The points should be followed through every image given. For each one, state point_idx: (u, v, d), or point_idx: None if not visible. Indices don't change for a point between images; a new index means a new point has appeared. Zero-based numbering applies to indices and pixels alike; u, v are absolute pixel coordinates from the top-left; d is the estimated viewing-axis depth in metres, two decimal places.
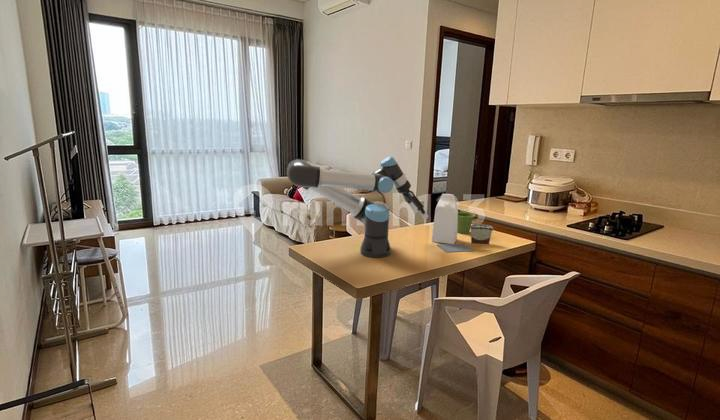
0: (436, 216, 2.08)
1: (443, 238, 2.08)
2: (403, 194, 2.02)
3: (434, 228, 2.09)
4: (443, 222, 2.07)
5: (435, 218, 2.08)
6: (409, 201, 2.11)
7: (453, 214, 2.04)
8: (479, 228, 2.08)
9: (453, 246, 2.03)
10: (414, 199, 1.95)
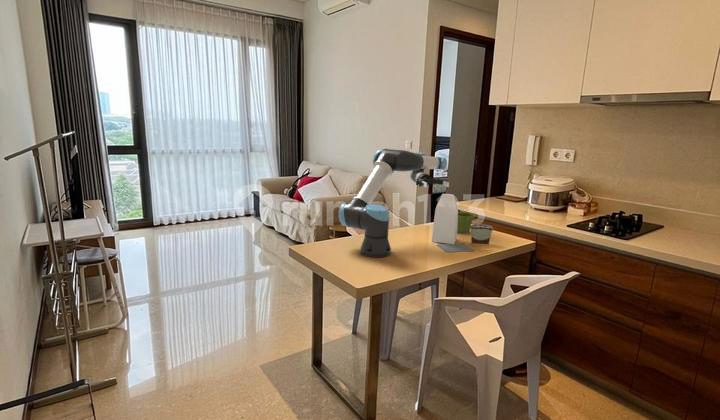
0: (436, 216, 2.08)
1: (443, 238, 2.08)
2: (425, 177, 2.34)
3: (434, 228, 2.09)
4: (443, 222, 2.07)
5: (435, 218, 2.08)
6: None
7: (453, 214, 2.04)
8: (479, 228, 2.08)
9: (453, 246, 2.03)
10: None
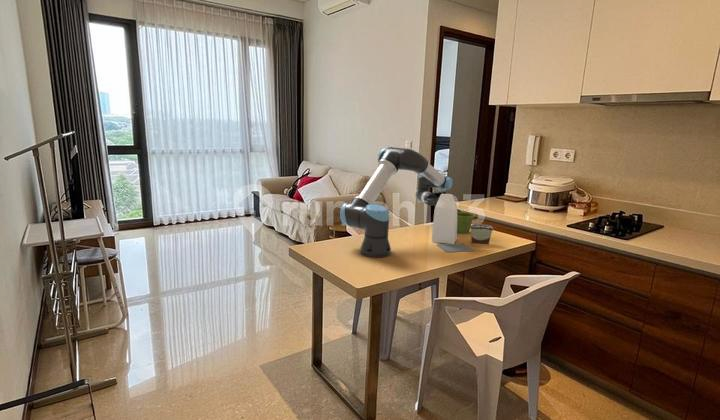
0: (435, 216, 2.07)
1: (443, 238, 2.08)
2: (431, 197, 2.30)
3: (434, 228, 2.09)
4: (442, 222, 2.06)
5: (434, 218, 2.07)
6: None
7: (452, 214, 2.03)
8: (479, 228, 2.08)
9: (453, 246, 2.03)
10: None
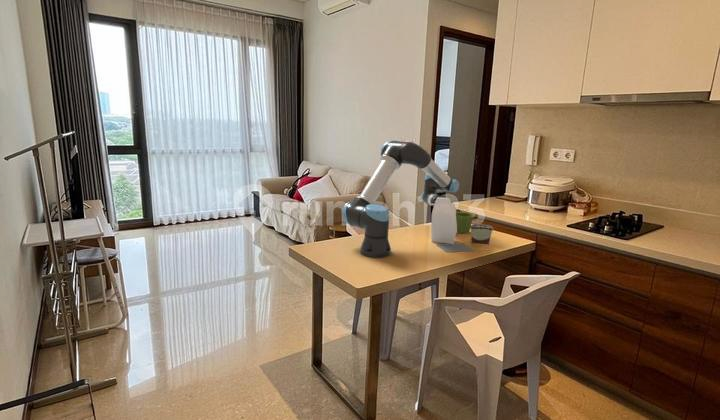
0: (433, 221, 2.02)
1: (442, 239, 2.07)
2: None
3: (432, 231, 2.06)
4: (441, 226, 2.02)
5: (432, 223, 2.03)
6: None
7: (450, 220, 1.98)
8: (479, 228, 2.08)
9: (453, 246, 2.03)
10: None
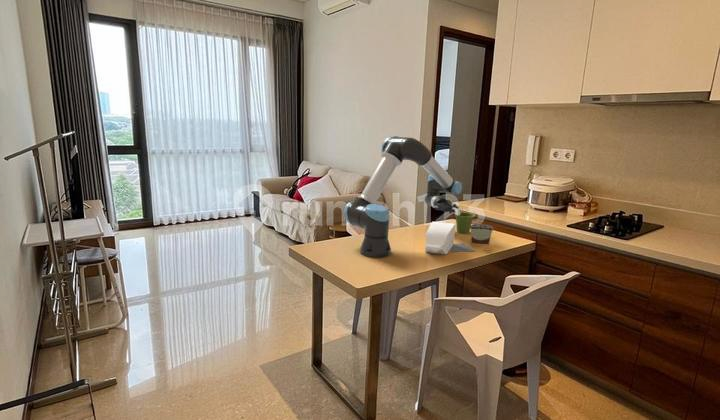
0: None
1: None
2: (442, 202, 2.17)
3: None
4: None
5: None
6: None
7: None
8: (479, 228, 2.08)
9: (453, 246, 2.03)
10: None
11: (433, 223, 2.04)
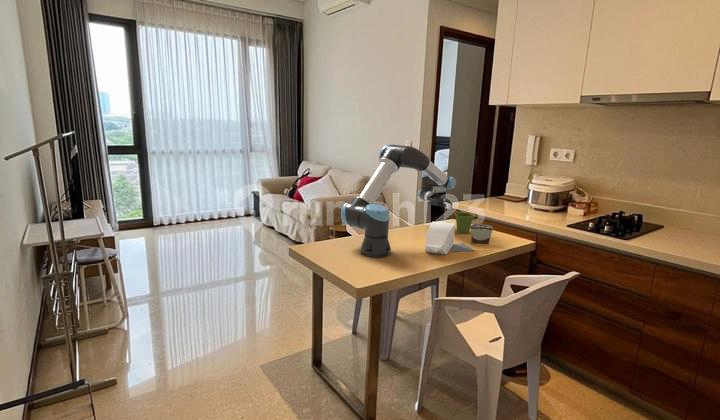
0: None
1: None
2: (434, 197, 2.28)
3: None
4: None
5: None
6: None
7: None
8: (479, 228, 2.08)
9: (453, 246, 2.03)
10: None
11: (433, 223, 2.04)
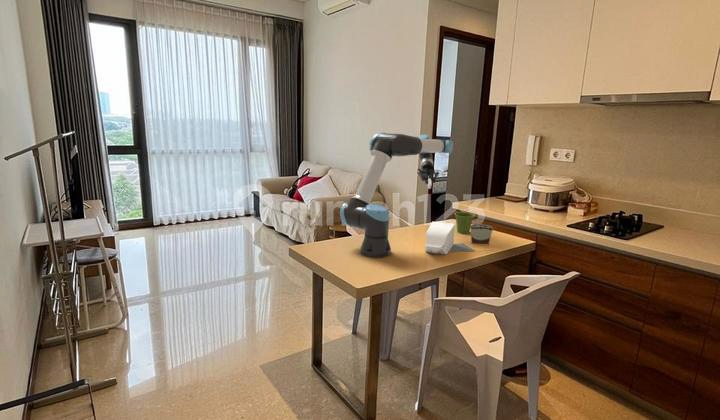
0: None
1: None
2: (426, 168, 2.25)
3: None
4: None
5: None
6: None
7: None
8: (479, 228, 2.08)
9: (453, 246, 2.03)
10: (436, 176, 2.23)
11: (433, 223, 2.04)
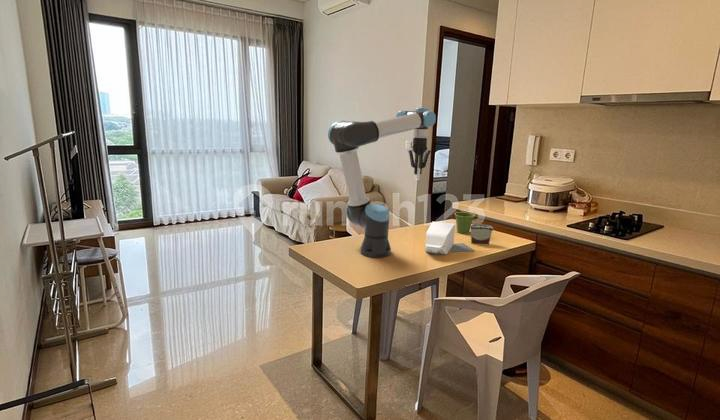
0: None
1: None
2: (418, 149, 2.08)
3: None
4: None
5: None
6: None
7: None
8: (479, 228, 2.08)
9: (453, 246, 2.03)
10: None
11: (433, 223, 2.04)
